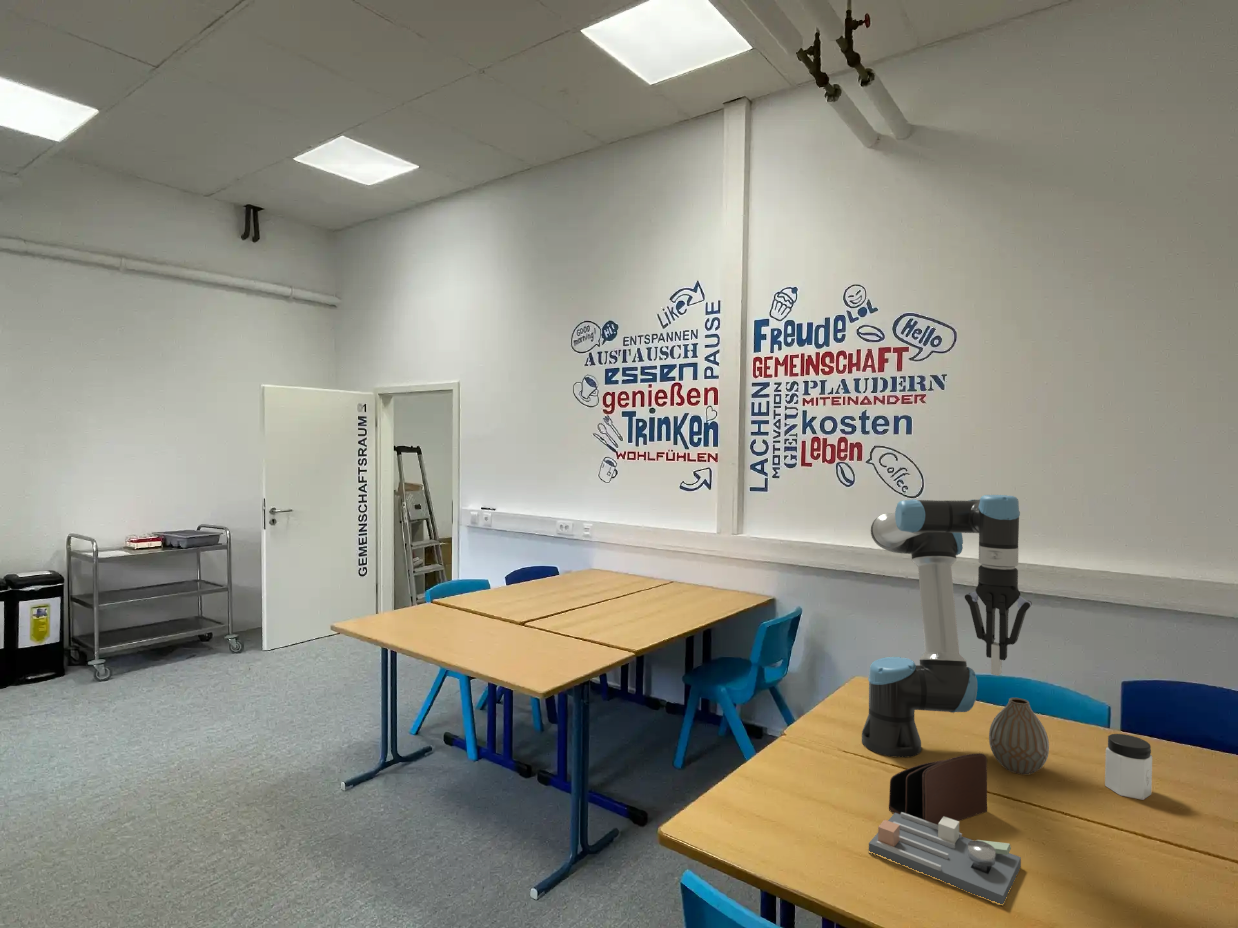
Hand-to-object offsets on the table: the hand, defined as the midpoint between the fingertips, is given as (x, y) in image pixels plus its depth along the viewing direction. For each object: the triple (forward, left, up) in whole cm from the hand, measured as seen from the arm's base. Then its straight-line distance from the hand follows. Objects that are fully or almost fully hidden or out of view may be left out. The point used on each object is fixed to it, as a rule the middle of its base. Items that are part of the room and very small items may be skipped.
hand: (996, 673), depth 147 cm
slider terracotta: (-13, -28, -30) cm, 43 cm away
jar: (+21, +35, -33) cm, 52 cm away
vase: (-1, +30, -33) cm, 44 cm away
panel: (-4, -23, -32) cm, 40 cm away
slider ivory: (-4, -18, -30) cm, 36 cm away
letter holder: (-10, -5, -33) cm, 35 cm away
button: (+3, -24, -31) cm, 39 cm away
